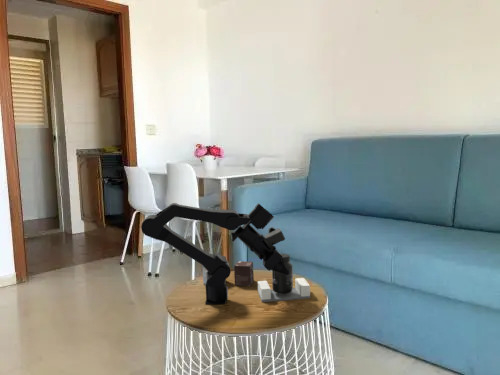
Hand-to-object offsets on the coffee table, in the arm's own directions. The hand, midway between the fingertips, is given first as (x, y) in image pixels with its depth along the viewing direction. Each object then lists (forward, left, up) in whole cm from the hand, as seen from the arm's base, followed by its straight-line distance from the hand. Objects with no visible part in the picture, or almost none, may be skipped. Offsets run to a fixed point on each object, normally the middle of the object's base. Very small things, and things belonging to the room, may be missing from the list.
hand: (286, 270), depth 139 cm
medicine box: (-26, +14, -9) cm, 31 cm away
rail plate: (-1, 0, -8) cm, 8 cm away
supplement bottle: (-1, 0, -7) cm, 7 cm away
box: (-15, +13, -9) cm, 22 cm away
